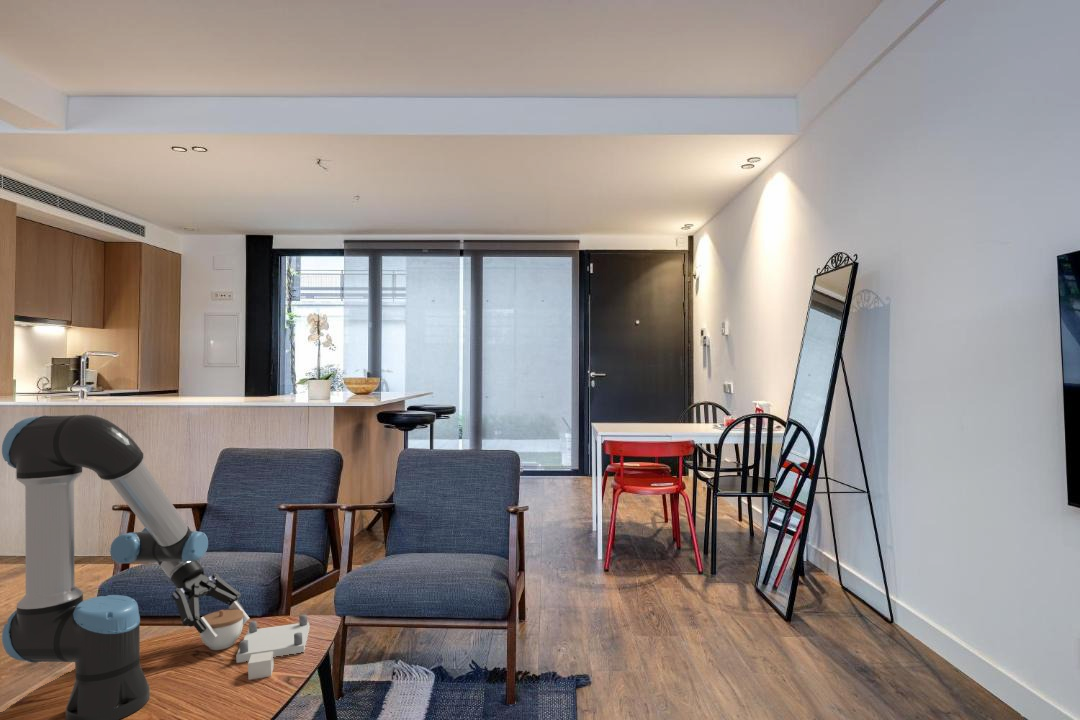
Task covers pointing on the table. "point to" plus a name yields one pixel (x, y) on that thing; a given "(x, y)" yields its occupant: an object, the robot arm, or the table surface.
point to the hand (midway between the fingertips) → (230, 630)
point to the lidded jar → (224, 628)
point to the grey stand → (274, 639)
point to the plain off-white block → (260, 665)
